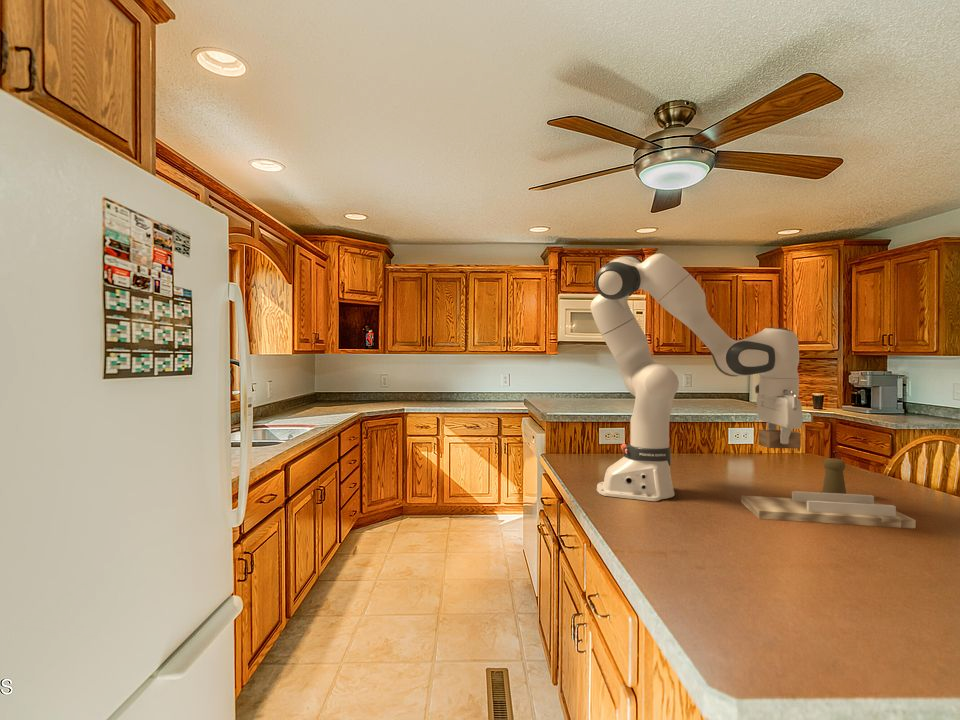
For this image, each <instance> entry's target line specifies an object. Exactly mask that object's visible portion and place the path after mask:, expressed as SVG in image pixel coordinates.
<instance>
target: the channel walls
mask: <svg viewBox="0 0 960 720" xmlns="http://www.w3.org/2000/svg"><path fill="white" fill-rule="evenodd" d="M791 498H792V501H797V502H807V511H809V512H825V513H842V514H858V515H875V516H892V517H896V511H897V507H896V505H893V504H883V505H879V504H874V503H875V496H874V495H872V494H856V493H846V494H839V493H822V492H818V491H817V492H816V491H814V492H813V491H799V490H798V491H796V490H792V491H791Z"/></svg>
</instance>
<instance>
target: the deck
mask: <svg viewBox="0 0 960 720" xmlns="http://www.w3.org/2000/svg"><path fill="white" fill-rule="evenodd" d="M740 497H741V499H740V500H741V501H740V502H741V504H742V505H743V506H744V507H746V508H747V509H748V511H750V512H751V513H752V514H753V515H754V516H755V517H757V518H758V520H759V519H760V520H772V521H773V520H774V521H775V520H776V521H791V522H803V521H804V522H807V523H819V522H820V523H821V524H837V525H838V524H839V525H853V526H868V527H869V526H870V527H884V528H900V529H913V528H914V529H915V528H916V522H917V521H916V519H914V518H911V517H910V516H907V515H906V514H903V513H901V512H899V511H897V510H896V517H892V516H875V515H858V514H842V513H825V512H809V511H807V502H797V501H792V497H791V498H790V497H777V496H776V497H774V496H758V495H757V496H754V495H741V496H740ZM874 504H879V505H884V504H883V503H881V502H874ZM914 529H913V530H914ZM915 530H916V529H915Z"/></svg>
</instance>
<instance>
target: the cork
mask: <svg viewBox="0 0 960 720" xmlns="http://www.w3.org/2000/svg"><path fill="white" fill-rule="evenodd" d="M823 467H824V469H825V472H824V478H823V479H824V480H823V486H822V490H821V493H839V494H847V490H846V489H847V488H846V483H845V476H844V470H846V469H845V468H846V462H845V461H844V460H842V459H839V458H825V459H824V461H823Z"/></svg>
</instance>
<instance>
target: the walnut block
mask: <svg viewBox="0 0 960 720" xmlns="http://www.w3.org/2000/svg"><path fill="white" fill-rule="evenodd" d="M780 434H781V430H780V429H777V430H768V429H758V445H759V446H762V447H765V448H767V449H798V450H799V449H801V446H802V445H801V442H802V441H801V436H802V435H801V434H802V433H801V432H799V431H798V432H797V431H794V430H791V433H790V436H789V443H788V444H782V443H780V442H779V436H780Z"/></svg>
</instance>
